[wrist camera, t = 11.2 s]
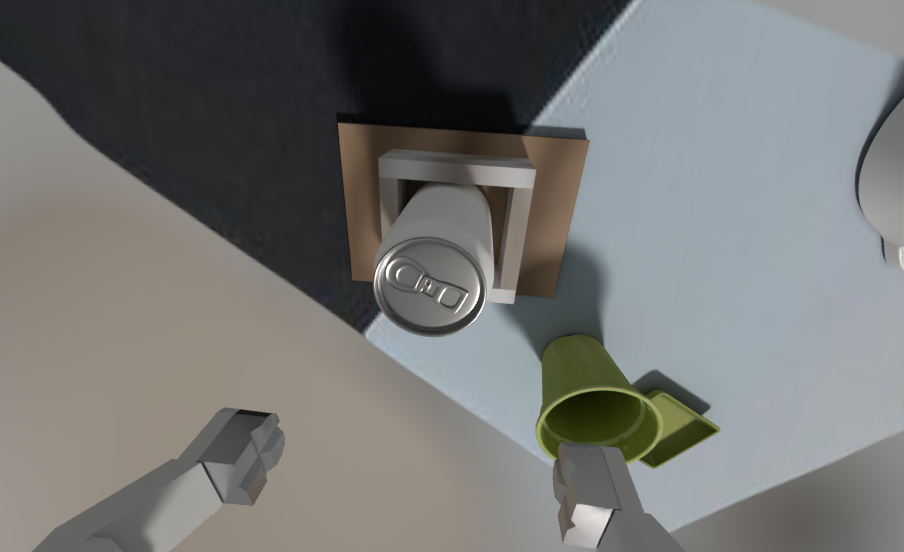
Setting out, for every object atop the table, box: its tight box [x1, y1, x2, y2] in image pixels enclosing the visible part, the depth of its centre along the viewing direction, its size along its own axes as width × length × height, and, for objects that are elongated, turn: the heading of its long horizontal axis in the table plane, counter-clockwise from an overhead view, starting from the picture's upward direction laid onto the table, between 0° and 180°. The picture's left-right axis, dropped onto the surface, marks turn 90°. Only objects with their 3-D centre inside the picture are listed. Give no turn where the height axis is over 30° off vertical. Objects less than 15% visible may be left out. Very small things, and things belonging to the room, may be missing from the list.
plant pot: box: [536, 334, 663, 465], centre depth 30 cm, size 9×9×9 cm
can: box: [373, 181, 494, 337], centre depth 22 cm, size 6×6×12 cm
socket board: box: [338, 122, 590, 304], centre depth 26 cm, size 18×13×6 cm
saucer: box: [638, 389, 720, 469], centre depth 37 cm, size 9×9×2 cm
